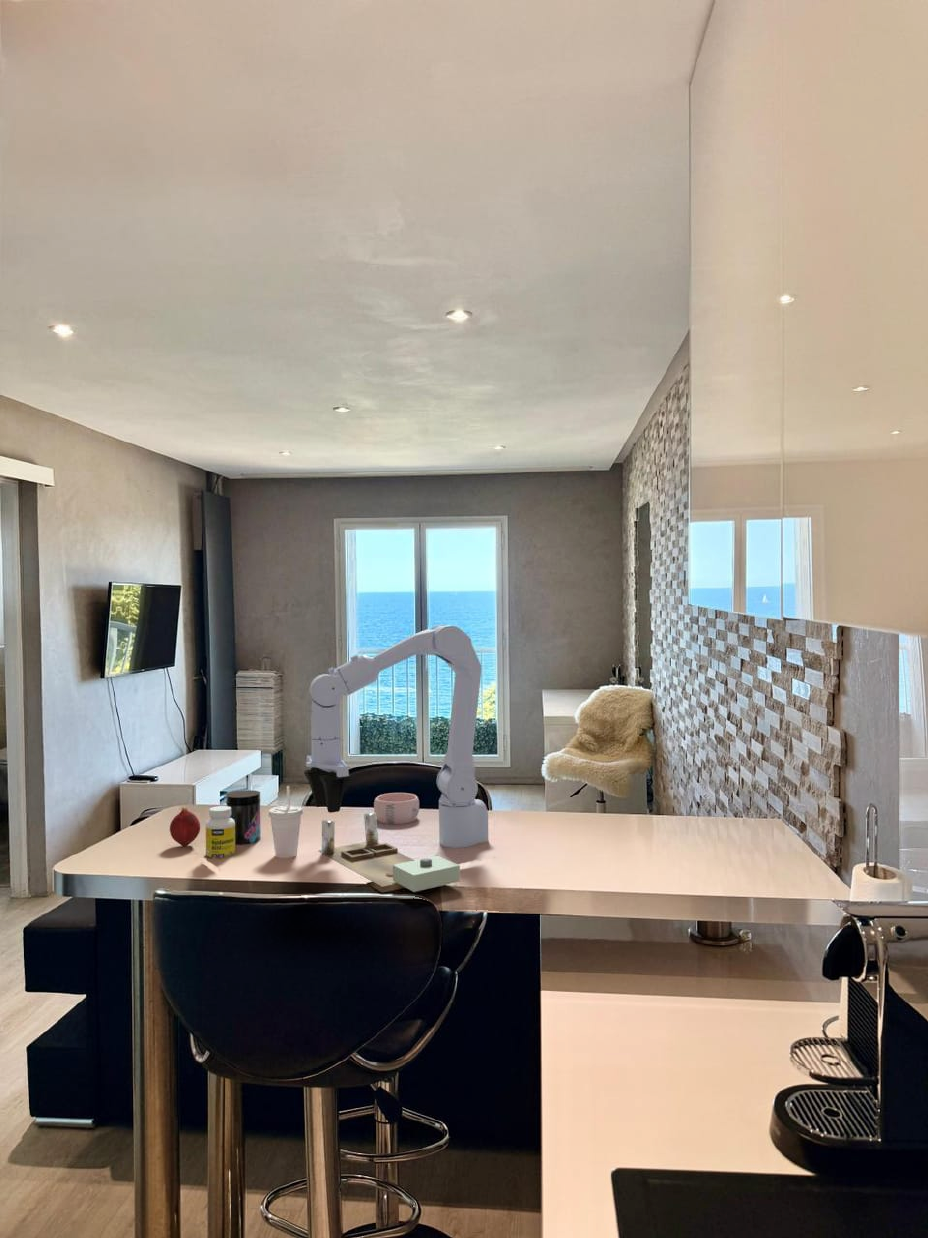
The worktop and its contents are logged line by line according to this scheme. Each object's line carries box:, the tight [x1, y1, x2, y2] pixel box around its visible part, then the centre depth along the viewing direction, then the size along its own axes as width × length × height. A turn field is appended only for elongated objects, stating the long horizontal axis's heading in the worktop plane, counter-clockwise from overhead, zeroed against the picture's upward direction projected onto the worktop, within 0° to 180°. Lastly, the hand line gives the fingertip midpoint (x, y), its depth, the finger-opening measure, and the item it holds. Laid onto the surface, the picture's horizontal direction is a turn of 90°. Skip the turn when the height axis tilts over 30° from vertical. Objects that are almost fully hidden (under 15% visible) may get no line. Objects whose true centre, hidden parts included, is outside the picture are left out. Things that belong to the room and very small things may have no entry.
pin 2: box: [363, 811, 379, 846], centre depth 166 cm, size 2×2×6 cm
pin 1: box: [321, 819, 336, 855], centre depth 160 cm, size 2×2×6 cm
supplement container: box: [225, 789, 262, 846], centre depth 170 cm, size 7×7×10 cm
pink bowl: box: [373, 792, 420, 825], centre depth 187 cm, size 12×10×6 cm
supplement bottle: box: [205, 805, 236, 863], centre depth 160 cm, size 5×5×10 cm
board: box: [318, 841, 415, 893], centre depth 154 cm, size 12×26×2 cm, turn 34°
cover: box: [393, 855, 461, 893], centre depth 142 cm, size 9×7×4 cm
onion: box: [169, 806, 201, 848], centre depth 169 cm, size 6×6×8 cm
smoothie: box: [268, 785, 304, 859], centre depth 159 cm, size 6×6×14 cm
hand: (327, 809), depth 160 cm, fingers open, 5 cm apart
